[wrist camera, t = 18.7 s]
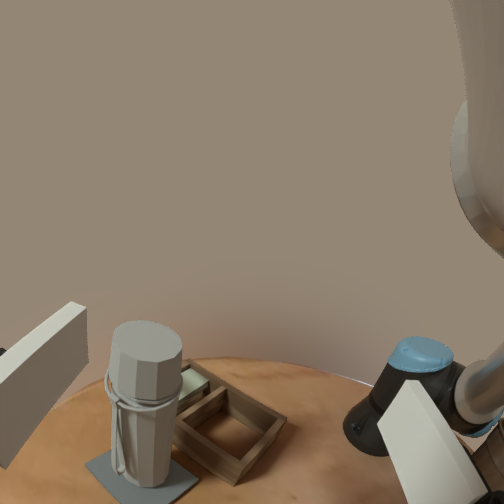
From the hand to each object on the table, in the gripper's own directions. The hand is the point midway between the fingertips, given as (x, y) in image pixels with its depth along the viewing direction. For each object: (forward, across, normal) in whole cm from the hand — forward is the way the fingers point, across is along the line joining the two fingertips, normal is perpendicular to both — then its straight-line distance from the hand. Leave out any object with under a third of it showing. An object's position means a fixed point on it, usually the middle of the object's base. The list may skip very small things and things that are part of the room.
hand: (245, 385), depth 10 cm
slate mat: (+12, -8, -34) cm, 37 cm away
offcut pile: (+30, -6, -34) cm, 46 cm away
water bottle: (+12, -8, -33) cm, 36 cm away
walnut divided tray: (+26, 0, -34) cm, 43 cm away
